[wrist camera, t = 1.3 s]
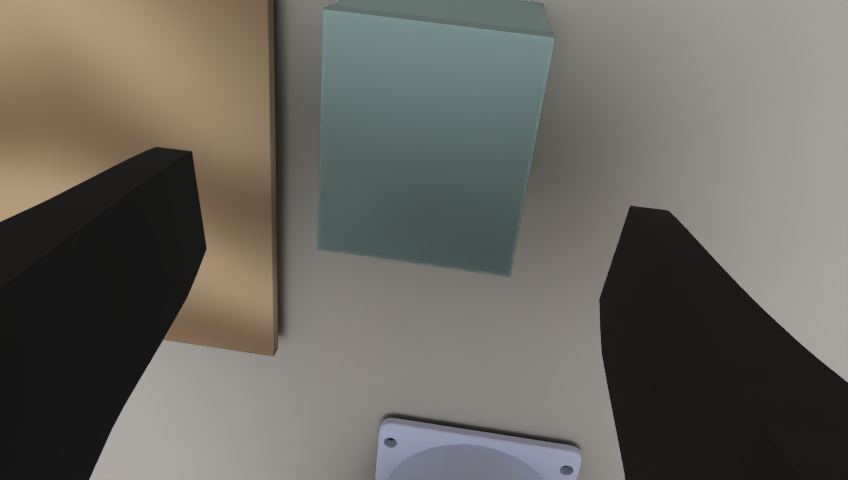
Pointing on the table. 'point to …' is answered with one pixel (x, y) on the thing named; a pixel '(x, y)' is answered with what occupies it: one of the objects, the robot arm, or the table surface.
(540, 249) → the table surface
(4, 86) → the thin wooden board
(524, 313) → the table surface
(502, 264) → the pale teal rectangular block
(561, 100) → the table surface
